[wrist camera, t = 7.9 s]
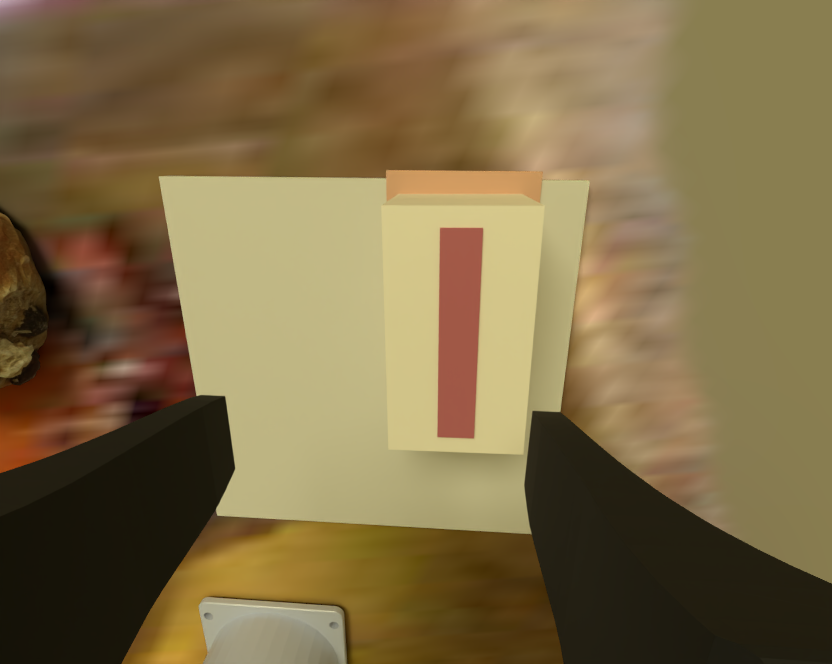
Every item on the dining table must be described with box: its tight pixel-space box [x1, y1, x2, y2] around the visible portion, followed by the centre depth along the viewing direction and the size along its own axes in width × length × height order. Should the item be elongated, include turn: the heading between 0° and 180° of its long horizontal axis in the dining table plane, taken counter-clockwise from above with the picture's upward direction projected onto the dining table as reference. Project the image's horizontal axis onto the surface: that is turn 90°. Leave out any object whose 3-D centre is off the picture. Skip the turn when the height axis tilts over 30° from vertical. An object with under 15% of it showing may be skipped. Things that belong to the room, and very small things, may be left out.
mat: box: [159, 170, 590, 534], centre depth 20 cm, size 16×16×1 cm
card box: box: [381, 194, 545, 455], centre depth 17 cm, size 4×8×5 cm, turn 0°
